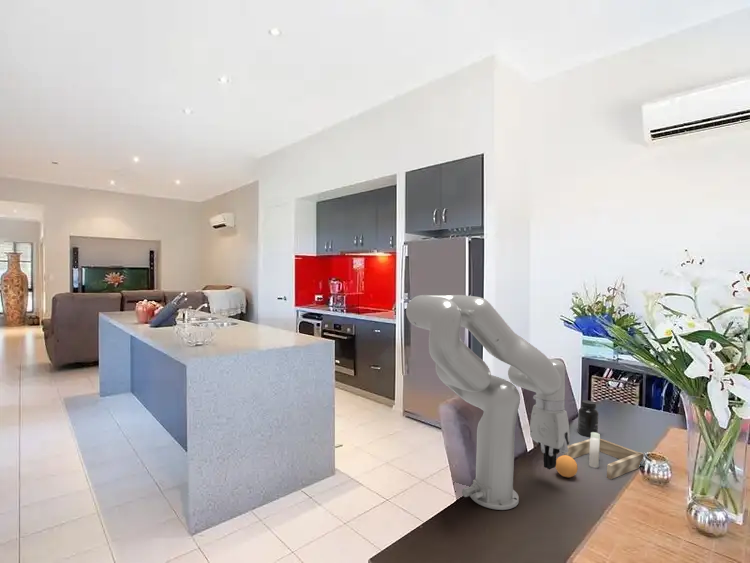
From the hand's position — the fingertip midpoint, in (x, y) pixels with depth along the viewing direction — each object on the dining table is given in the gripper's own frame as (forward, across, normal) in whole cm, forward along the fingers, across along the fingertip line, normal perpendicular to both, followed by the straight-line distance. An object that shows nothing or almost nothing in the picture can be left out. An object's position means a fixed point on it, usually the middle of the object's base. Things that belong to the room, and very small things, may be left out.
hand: (549, 467), depth 120 cm
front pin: (+6, 0, +22) cm, 22 cm away
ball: (+2, 0, +8) cm, 8 cm away
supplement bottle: (+7, -17, +46) cm, 49 cm away
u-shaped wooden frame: (+6, 0, +27) cm, 27 cm away
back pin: (+6, -3, +26) cm, 27 cm away
